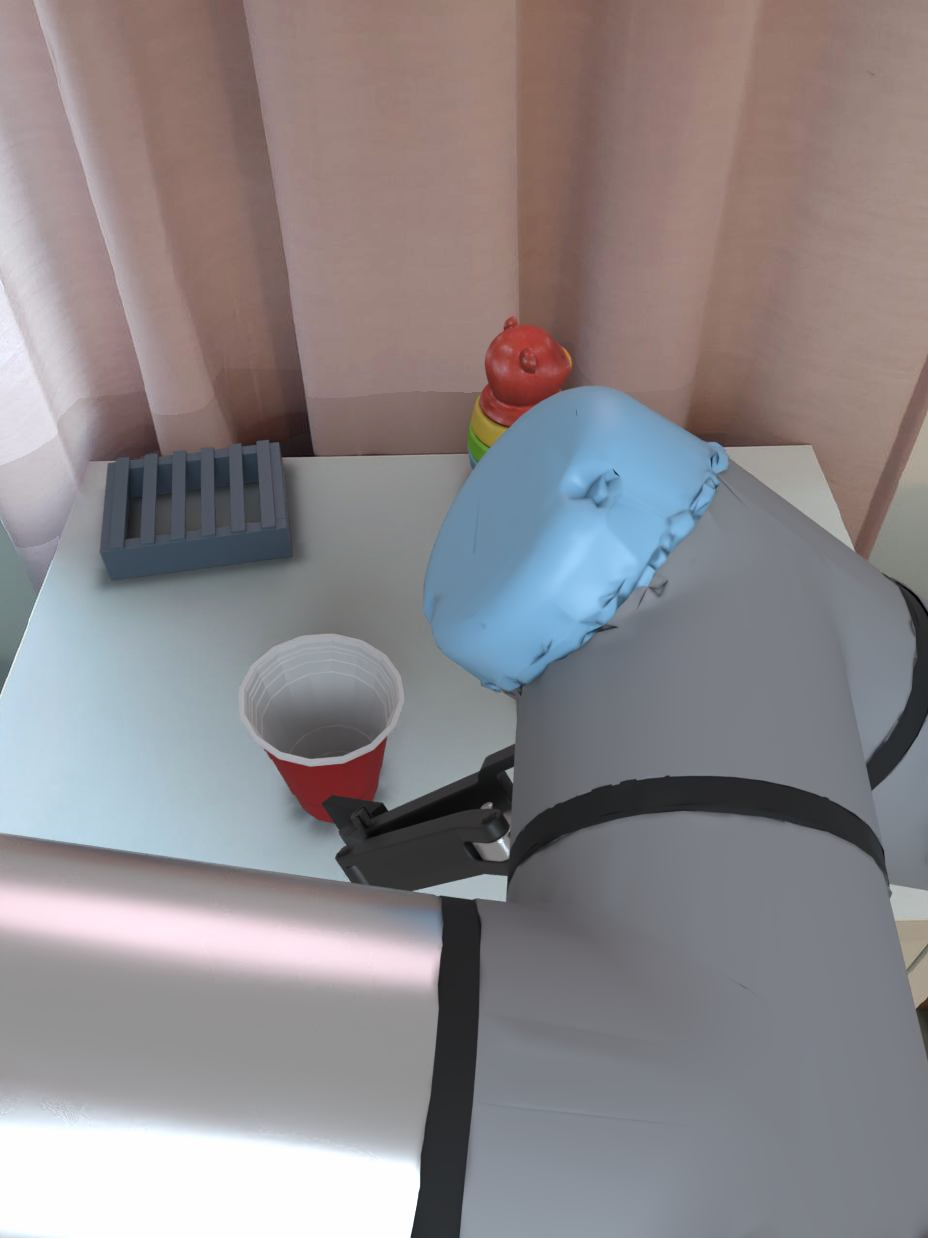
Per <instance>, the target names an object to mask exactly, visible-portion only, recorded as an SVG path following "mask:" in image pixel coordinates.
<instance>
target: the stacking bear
mask: <svg viewBox="0 0 928 1238" xmlns="http://www.w3.org/2000/svg"><path fill="white" fill-rule="evenodd" d="M572 368H573V360H572V357H571V355H570V353H569V352H568V350H567V349H565V347H563V346H562V345H560V344H559V343H558V342H557V341H556V340H554V339H553V338H552V336H551V334H549V332H547V331H546V330H545V329H544V328H542V327H539V326H537V325H533V324H519V321H518V319H517V317H516V316H510V317H508V318H507V319H506V320H505V321H504V324H503V331H501V332H500V333H498V334H497V335H496V336H495V337H494V338H493V339H492V340H491V342H490V343H489V346H488V348H487V350H486V353H485V356H484V371H485V375H486V381H487V384H486V385H485V386H484V388H482V391H481V392H480V393H479V395H478V396H477V398H476V401H475V404H474V407H473V410H472V414H471V418H470V421H469V426H468V432H467V455H468V459H469V463H470V467H471V469H472V471H473V469H474V468H475V466H476V465H477V463H478V462H479V461H480V459H481V458H482V457H483V456H484V454H485V453H486V452H487V451H488V449H489V448H490V447H491V446H492V445H493V443H495V442H496V440H497V439H498V438H499V437H500V436H501V435H502V434H503V433H504V432H505V431H506V430H507V429H508V428H509V427H510V426H511V425H512V424H513V423H514V422H515V421H516V420H517V419H518V418H519V417H521V416H522V415H523V414H524V413H526V412H527V411H528V410H530V409H531V408H532V407H534V406H535V405H537V404H538V403H540V402H541V401H543V400H545V399H547V398H549V397H551V396H553V395H555V394H557V393H558V392H561V391H563V390H562V389H561V388H562V387H563V386H564V384H565V383H566V382H567V379H568V377H569V376H570V373H571V371H572Z"/></svg>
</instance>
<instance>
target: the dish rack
mask: <svg viewBox="0 0 928 1238" xmlns="http://www.w3.org/2000/svg"><path fill="white" fill-rule="evenodd" d="M255 443H256V444H251V445H242V443H241V442H238V443H231V444H228V447H227V448H218V449H215V447H214V446H207V447H201V448H200V451H195V452H187V450H186V449H182V450H173V451H172V454H169V455H163V456H159V453H149V454H144V458H139V459H131V458H130V456H124V457H117V458H116V459H115V461H113V462H112V461H111V462H107V467H106V479H105V489H104V499H103V500H104V502H103V513H102V522H101V523H102V524H101V535H100V543H99V554H100V556H101V558H102V559H101V560H102V561H103V563H104V566H105V568H106V571H107V574H108V575H109V578H110V581H117V580H118V581H119V580H124V579H132V578H141V577H149V576H156V575H162V574H168V573H177V572H178V573H179V572H185V571H191V570H192V571H193V570H199V569H200V570H201V569H206V568H207V569H208V568H215V567H222V566H230V565H237V564H245V563H252V562H258V561H266V560H274V559H280V558H281V559H282V558H288V557H293V547H292V537H291V526H290V514H289V504H288V492H287V483H286V482H287V481H286V471H285V466H284V465H285V464H284V460H283V455H282V449H281V445H280V442H279V441H277V442H276V441H275V442H270V440H269V439H263V440H257V441H256V442H255ZM252 483H253V484H254V483H258V491H259V507H260V521H255V522H248V523H246V502H245V501H246V500H245V485H246V484H252ZM227 486H228V487H229V498H230V499H229V500H230V501H229V502H230V523H231V524H230V525H225V526H218V527H217V523H216V521H217V519H216V516H217V515H216V514H217V513H216V488H219V487H227ZM196 490H200V528H201V529H194V530H187V529H186V527H187V492H189V491H196ZM165 494H171V505H170V507H171V509H170V510H171V511H170V512H171V514H170V533H163V534H156V529H157V505H158V503H157V502H158V499H157V498H158V496H159V495H165ZM133 498H141V513H140V514H141V516H140V534H139V535H140V537H132V538H128V537H129V520H130V519H129V518H130V517H129V516H130V504H131V499H133Z"/></svg>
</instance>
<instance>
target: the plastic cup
mask: <svg viewBox="0 0 928 1238" xmlns="http://www.w3.org/2000/svg"><path fill="white" fill-rule="evenodd" d="M404 693H405V692H404V686H403V678H402V675H401V673H400V672H399V671H398V669H397V668H396V666H395V665H394V663H393V662H392V661H391V659H390V658H389V657H388V655H387V654H385V652H382V651H381V650H379V649H378V648H376V647H374V646H373V645H371V644H370V643H368V642H367V641H366V640H365V641H364V640H363V639H359V638H357V637H356V638H355V637H350V636H347V635H343V634H337V633H320V634H305V635H299V636H297V637H295V638H292V639H290V640H289V639H288V640H286V641H284V642H281V643H279V644H277V645H273V646H272V647H271V648H270V649H268V651H266V652H265V653H264V654H263V655H261V656H260V657H259V658H257V660H255V661H254V662H253V663H252V664H250V666H249V668H248V670H247V672H246V674H245V676H244V678H243V680H242V681H241V684H240V685H239V687H238V715H239V718H240V720H241V722H242V723H243V725H244V727H245V729H246V730H247V733H248V734H249V736H250V738H251V739H252V741H253V742H254V743H255V744H256V745H258V746H259V747H261V748H262V749H263V751H264V752H265V753H266V754H267V756H268V758H269V759H270V760H271V761H272V762H273V764H274V766H275V767H276V769H277V771H278V772H279V774H280V776H281V778H282V779H283V780H284V782H285V783H286V786H287V788H288V789H289V791H290V792H291V793H292V795H293V796H295V798H296V799H297V801H298V803H299V804H300V806H301V808H302V810H303V811H305V812H306V813H308V814H309V815H310V816H312V817H313V818H315V819H316V820H317V821H319V822H320V821H321V822H325V823H330V824H335V823H334V822H333V820H332V819H331V817H330V816H329V814H328V813H327V811H326V810H325V809H324V807H323V806H322V804H321V803H323V802H324V801H325V800H326V799H328V798H329V797H330V796H331V795H336V796H342V797H349V798H355V799H361V800H368V801H374V799H375V795H376V792H377V789H378V787H379V781H380V773H381V770H382V767H383V763H384V757H385V752H386V747H387V741H388V736H389V735H390V734H391V733H392V732H393V731H394V730H395V728H396V727H397V724H398V721H399V718H400V715H401V713H402V710H403V708H404V704H405V701H406V699H405V694H404Z"/></svg>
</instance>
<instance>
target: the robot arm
mask: <svg viewBox="0 0 928 1238" xmlns="http://www.w3.org/2000/svg"><path fill="white" fill-rule="evenodd" d="M726 451H727V449H726V448H725V447H724V446H722V445H721V444H719V443H718V442H717V441H705V440H702V438H699V437H698V436H696V435H694V434H693V433H691V432H689V431H688V430H686V429H684V428H683V427H681V426H680V425H678V424H677V423H675V422H673V421H671V420H670V419H668V418H667V417H665V416H663V415H662V414H660V413H658V412H657V411H655V410H653V409H652V408H650V407H649V406H647V405H645V404H643V402H641V401H639V400H638V399H636V398H634V397H632V396H631V395H629V394H627V393H626V392H624V391H621V390H618V389H616V388H612V387H609V386H605V385H582V386H577V387H572V388H568V389H565V390H562V391H561V392H558V393H557V394H555V395H553V396H551V397H549V398H547V399H545V400H543V401H541V402H540V403H538V404H537V405H535V406H534V407H532V408H531V409H530V410H528V411H527V412H526V413H524V414H523V415H522V416H521V417H519V418H518V419H517V420H516V421H515V422H514V423H513V424H512V425H511V426H510V427H509V428H508V429H507V430H506V431H505V432H504V433H503V434H502V435H501V436H500V437H499V438H498V439H497V440H496V442H495V443H493V445H492V446H491V447H490V448H489V449H488V451H487V452H486V453H485V454H484V456H483V457H482V458H481V459H480V461H479V462H478V463H477V465H476V466H475V468H474V469H473V470H472V471H471V472H470V474H469V475H468V477H467V478H466V480H465V481H464V482H463V484H462V487H460V489H459V491H458V493H456V496H455V498H454V499H453V501H452V503H451V505H450V507H449V509H448V511H447V513H446V515H445V517H444V519H443V522H442V524H441V526H440V528H439V530H438V532H437V536H436V538H435V541H434V543H433V546H432V549H431V552H430V555H429V559H428V561H427V566H426V569H425V575H424V580H423V592H422V609H423V610H422V611H423V615H424V616H425V618H426V620H427V622H428V624H429V625H430V630H431V635H432V638H433V640H434V642H435V645H436V647H437V648H438V650H439V651H440V652H441V653H442V654H443V655H444V656H446V657H447V658H448V659H449V660H451V661H452V662H453V663H455V664H456V665H457V666H459V667H461V668H462V669H463V670H464V671H466V672H467V673H468V674H470V675H471V676H473V677H474V678H476V679H477V680H479V682H480V685H481V687H484V688H486V689H488V690H492V691H493V692H494V693H503V694H504V695H506V696H508V697H510V698H512V699H514V700H515V705H516V706H515V707H516V724H515V725H516V726H515V741H514V743H513V744H511V745H508V746H506V747H503V748H502V749H499V750H498V751H494V753H490V754H489V755H487V756H486V757H485V758H484V760H483V762H482V764H481V767H480V769H479V771H476V772H473V773H471V774H469V775H467V776H465V777H463V778H460V779H457V780H456V781H455V780H454V781H453V782H451V783H449V784H446V785H444V786H441V787H440V788H437V789H435V790H433V791H430V792H428V793H426V794H424V795H421V796H419V797H416V798H414V799H411V800H410V801H408V802H405V803H403V804H401V805H398V806H396V807H394V808H392V809H390V810H388V808H387V807H386V805H385V804H384V802H380V801H374V800H372V801H368V800H361V799H355V798H349V797H342V796H336V795H331V796H330V797H329V798H328V799H326V800H325V801H324V802H323V803H321V804H322V806H323V807H324V809H325V810H326V811H327V813H328V814H329V816H330V817H331V819H332V820H333V822H334V823H333V824H334V825H335V826H336V828H337V829H338V831H337V832H338V835H339V837H340V838H341V840H342V841H343V843H344V844H345V845H344V846H343V847H341V848H340V849H339V851H338V852H336V854H335V856H334V860H335V862H336V863H337V865H338V866H339V867H340V869H341V870H342V871H343V873H344V874H345V876H346V878H347V879H348V880H349V881H341V880H336V879H329V878H328V879H327V878H322V877H314V876H309V875H301V874H295V873H294V874H293V873H287V872H281V871H280V872H279V871H272V870H266V869H258V868H251V867H245V866H238V865H232V864H231V865H230V864H224V863H217V862H209V861H204V860H203V861H201V860H197V859H196V860H195V859H194V860H193V859H189V858H181V857H174V856H167V855H159V854H153V853H145V852H140V851H132V850H127V849H118V848H111V847H104V846H98V845H91V844H83V843H76V842H71V841H62V840H55V839H49V838H41V837H35V836H27V835H22V834H21V835H20V834H13V833H6V832H0V1238H928V1057H927V1051H926V1047H925V1043H924V1039H923V1034H922V1030H921V1026H920V1022H919V1021H920V1020H919V1018H918V1013H917V1010H916V1009H917V1008H916V1005H915V1000H914V997H913V993H912V992H913V991H912V988H911V987H912V986H911V983H910V980H909V975H908V971H907V967H906V962H905V958H904V954H903V949H902V944H901V941H900V936H899V932H898V929H897V924H896V919H895V916H894V911H893V907H892V902H891V897H892V894H893V891H892V889H891V886H890V885H892V886H898V887H903V888H910V889H915V890H921V891H928V599H927V598H925V597H924V596H922V595H921V594H920V593H918V591H917V592H916V591H915V590H914V589H912V588H911V587H910V586H908V585H907V584H905V583H904V582H902V581H900V580H898V579H896V578H895V577H891V576H888V575H887V574H886V573H884V572H883V571H881V570H880V569H879V568H877V567H876V566H875V565H874V564H872V563H871V562H870V561H868V560H867V559H865V558H864V557H863V556H862V555H860V554H859V553H858V552H856V551H855V550H854V549H852V548H851V547H850V546H849V545H847V544H845V543H844V542H843V541H841V539H839V538H837V537H836V536H835V535H833V534H832V533H831V532H829V530H827V529H825V528H824V527H823V526H821V525H820V524H819V523H817V522H816V521H815V520H813V518H811V517H809V516H808V515H807V514H805V513H804V512H802V511H801V510H800V509H799V508H797V507H796V506H794V505H793V504H792V503H791V502H789V501H788V500H787V499H785V498H784V497H782V495H780V494H778V493H777V492H776V491H774V490H773V489H772V488H771V487H769V486H767V485H766V484H765V483H764V482H762V481H761V480H760V479H759V478H757V477H756V476H755V475H753V474H751V473H750V472H749V471H748V470H746V469H744V467H742V466H741V465H740V464H738V463H737V462H736V461H734V460H733V459H732V458H730V457H731V455H730V454H728V453H727V452H726ZM511 769H513V776H512V777H513V778H512V780H511V778H510V776H509V775H508V773H507V771H508V770H511ZM483 875H488V876H501V877H507V878H506V893H505V901H503V900H494V899H485V898H477V897H476V898H473V899H471V898H463V897H457V896H449V895H442V894H440V895H436V894H433V893H427V892H419V891H420V890H424V889H427V888H431V887H436V886H440V885H444V884H448V883H453V882H457V881H461V880H466V879H469V878H475V877H478V876H483Z"/></svg>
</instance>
